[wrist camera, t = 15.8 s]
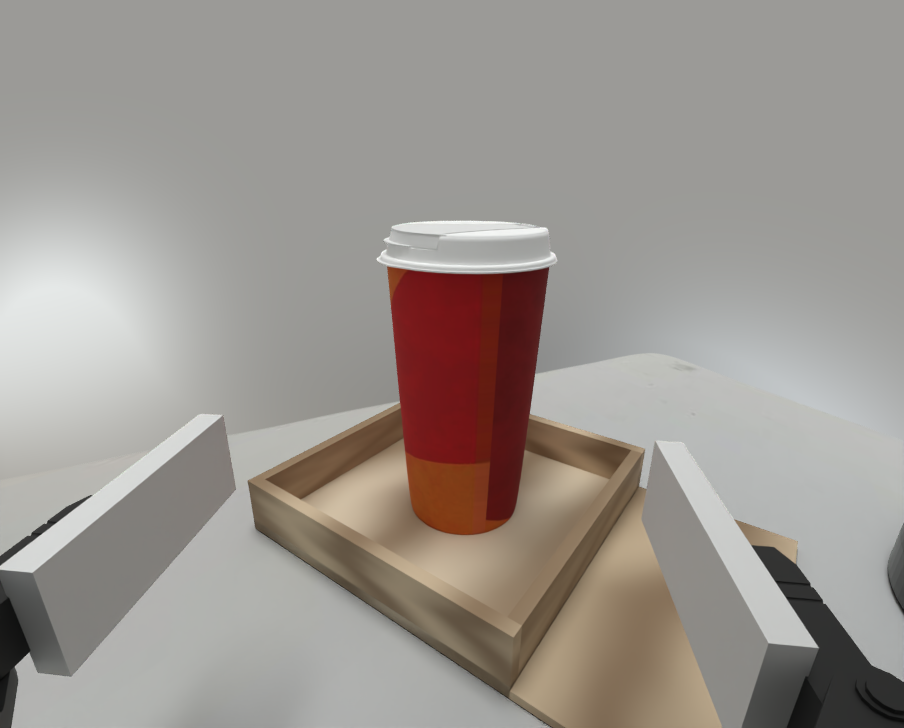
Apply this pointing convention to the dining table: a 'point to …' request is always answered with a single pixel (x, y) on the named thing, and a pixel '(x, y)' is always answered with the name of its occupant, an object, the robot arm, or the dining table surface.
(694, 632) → the robot arm
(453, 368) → the coffee cup
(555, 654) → the box
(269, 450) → the dining table surface
